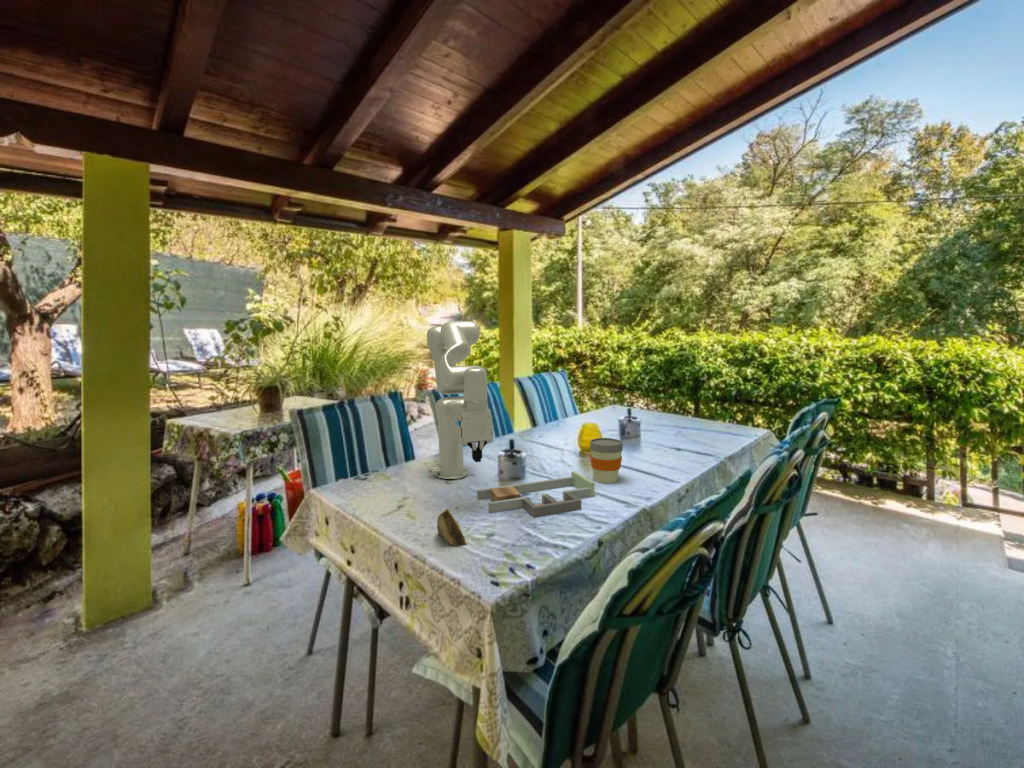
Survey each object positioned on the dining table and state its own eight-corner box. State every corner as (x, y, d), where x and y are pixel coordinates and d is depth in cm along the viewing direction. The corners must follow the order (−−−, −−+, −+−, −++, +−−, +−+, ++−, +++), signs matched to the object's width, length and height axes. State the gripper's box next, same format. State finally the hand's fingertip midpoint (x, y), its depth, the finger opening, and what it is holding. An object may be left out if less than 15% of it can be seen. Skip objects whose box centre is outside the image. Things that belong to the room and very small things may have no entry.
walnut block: (497, 508, 156) (497, 496, 156) (491, 499, 164) (491, 488, 163) (520, 505, 159) (520, 494, 158) (513, 497, 166) (513, 486, 166)
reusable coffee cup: (623, 476, 187) (624, 439, 186) (620, 486, 176) (621, 447, 174) (592, 473, 192) (592, 436, 190) (586, 482, 180) (586, 444, 178)
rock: (428, 524, 138) (426, 534, 128) (445, 500, 139) (444, 508, 129) (458, 545, 139) (458, 556, 129) (475, 520, 140) (477, 530, 130)
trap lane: (498, 523, 144) (498, 507, 143) (477, 498, 165) (476, 484, 164) (607, 504, 158) (607, 490, 157) (574, 483, 179) (574, 471, 178)
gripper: (456, 409, 147) (458, 466, 149) (501, 405, 152) (502, 461, 154) (450, 405, 154) (452, 460, 156) (493, 402, 159) (494, 456, 161)
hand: (477, 461), depth 155 cm, fingers closed
